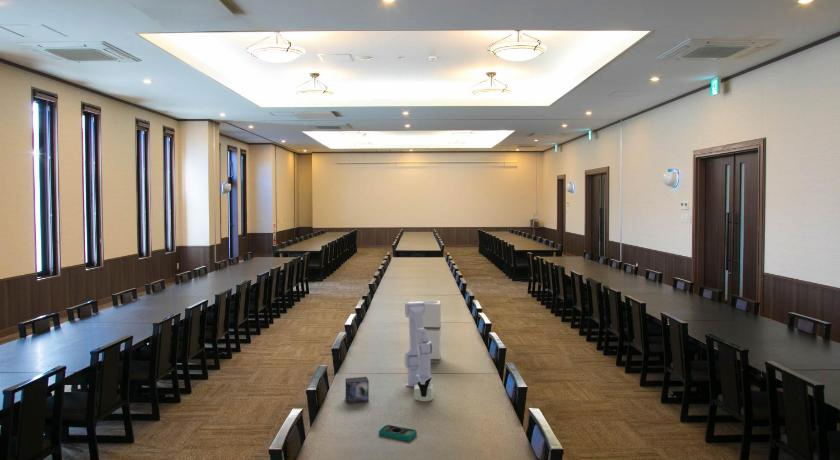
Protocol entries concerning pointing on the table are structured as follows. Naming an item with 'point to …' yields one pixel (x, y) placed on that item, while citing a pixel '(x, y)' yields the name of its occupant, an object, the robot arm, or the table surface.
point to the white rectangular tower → (433, 328)
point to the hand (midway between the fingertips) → (424, 394)
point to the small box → (357, 389)
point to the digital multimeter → (397, 432)
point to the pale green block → (418, 394)
